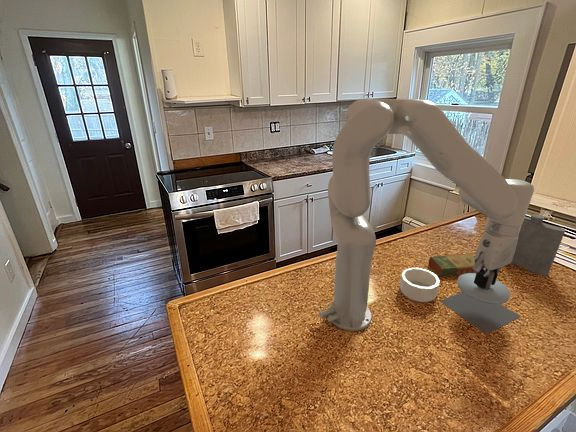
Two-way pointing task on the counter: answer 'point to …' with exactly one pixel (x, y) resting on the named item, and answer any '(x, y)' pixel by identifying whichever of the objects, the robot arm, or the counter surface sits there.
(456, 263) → the carton
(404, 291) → the bowl
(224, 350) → the counter surface
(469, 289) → the lid
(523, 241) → the hip flask
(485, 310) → the mat
